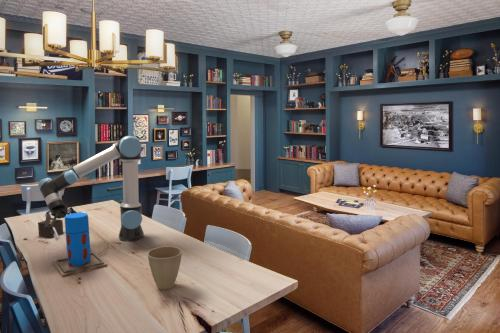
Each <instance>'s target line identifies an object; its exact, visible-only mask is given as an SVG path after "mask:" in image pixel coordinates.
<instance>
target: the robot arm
mask: <svg viewBox="0 0 500 333" xmlns="http://www.w3.org/2000/svg"><path fill="white" fill-rule="evenodd" d="M141 151H142V144H141V141H140V139H139V138H137V137H136V136H134V135H132V134H131V135H129V134H128V135H125V136H123V137H122V138H120V139H119V140H118V141H116V142H114V143H112V145H111V146H110V147H109V148H106V149H105V150H102V151H101V152H98V153H97V154H94V155H93V156H91V157H89V158H87V159H85V160H84V161H82V162H79V163H78V164H76V165H74V166H72V167H70V168H68V169H65V170H63V172H62V173H61V174H59V175H58V176H56V177H55V178H51V177H45V178H42V179H41V180H39V182H38V184H37V185H38V188H39V191H40V193H41V195H42V197H43V199H44V201H45V203H46V205H47V207H48V211H49V210H50V212H48V211H46V212H45V213H44V214H45V220H46V221H45V220H44V221H45V228H44V230H48V231H50V233H51V235H54V237H53V238H54V240H55V241H56V242H57V241H58V240H59V239H60V235H59V236H58V234H57V232H56V230H55V228H54V227H53V224H54V222H55V220H56V219H58V220H61V219H65V216H66V215H68V214H73V213H78V212H77V211H76V210H75V209H74V208H73V206H70V208H69V207H68V209H66V207H65V206H66V205H65V203H64V201H63V199H62V197H61V195H60V193H59V192H60V191H63V190H65V189H66V188H68V187H70V186H72V185H74V184H75V183H77V182H78V181H79V179H80V178H82V177H83V176H86V175H88V174H90V173H91V172H94V171H95V170H97V169H100V168H101V167H103V166H105V165H107V164H108V163H111V162H112V161H114V160H116V159H119V160H120V161H121V162H122V187H123V188H122V195H123V196H122V198H123V199H122V200H123V201H122V202H121V203H120V204H119V210H120V229H119V233H118V240H119V241H122V242H124V241H125V242H132V241H133V242H134V241H139V240H141V239H143V238H144V237H145V233H144V230H143V227H142V225H141V224H142V222H143V215H142V203H140V202H139V198H140V197H139V196H140V195H139V161H141V158H142V157H141V156H142V155H141ZM50 215H51V217H53V218H54V219H53V221H52V223H51V225H50V226H48V225H49V218H50ZM52 227H53V228H52Z"/></svg>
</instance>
